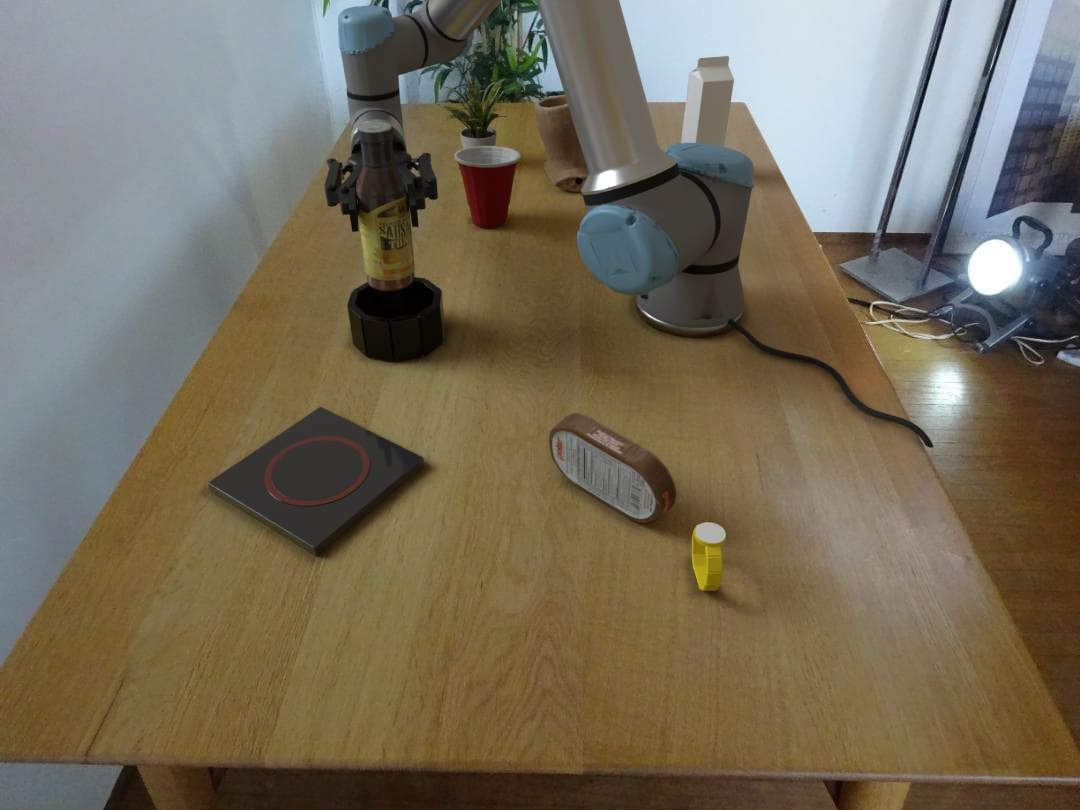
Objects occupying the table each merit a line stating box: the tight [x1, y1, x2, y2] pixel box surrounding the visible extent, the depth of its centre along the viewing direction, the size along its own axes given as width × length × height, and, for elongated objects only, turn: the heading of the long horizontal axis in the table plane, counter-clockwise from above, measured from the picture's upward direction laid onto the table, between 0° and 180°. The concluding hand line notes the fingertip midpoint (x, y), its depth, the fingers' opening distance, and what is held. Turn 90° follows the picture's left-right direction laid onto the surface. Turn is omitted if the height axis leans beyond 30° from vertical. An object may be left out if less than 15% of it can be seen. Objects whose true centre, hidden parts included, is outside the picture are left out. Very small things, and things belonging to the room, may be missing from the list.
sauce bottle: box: [356, 122, 416, 291], centre depth 98 cm, size 6×6×20 cm
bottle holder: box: [346, 276, 446, 363], centre depth 108 cm, size 12×12×6 cm
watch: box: [691, 521, 727, 592], centre depth 75 cm, size 6×3×6 cm, turn 3°
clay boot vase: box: [534, 94, 588, 193], centre depth 148 cm, size 15×12×15 cm
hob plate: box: [207, 406, 425, 557], centre depth 87 cm, size 16×16×1 cm
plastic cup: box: [454, 145, 521, 230], centre depth 135 cm, size 11×11×12 cm
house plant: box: [436, 76, 508, 149], centre depth 155 cm, size 14×14×16 cm
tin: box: [548, 412, 677, 524], centre depth 82 cm, size 15×3×8 cm, turn 47°
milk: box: [680, 55, 735, 147], centre depth 147 cm, size 6×6×22 cm
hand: (384, 218), depth 93 cm, fingers closed on sauce bottle, 6 cm apart
